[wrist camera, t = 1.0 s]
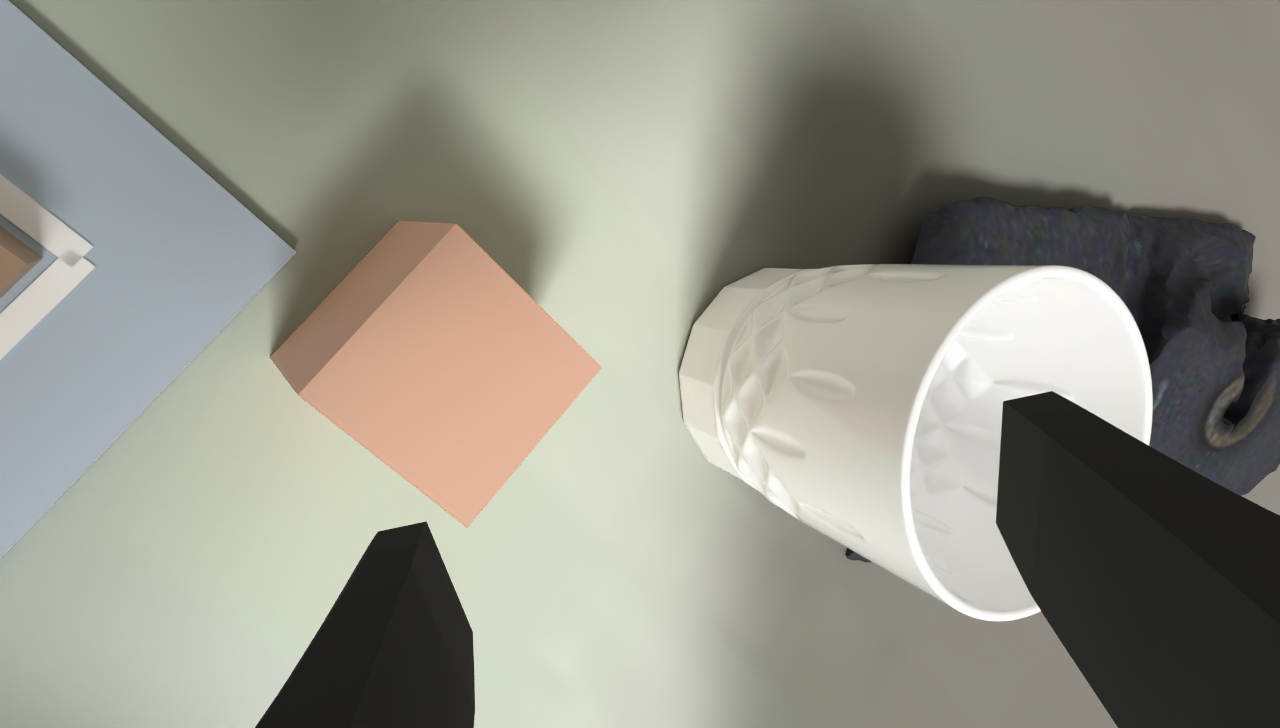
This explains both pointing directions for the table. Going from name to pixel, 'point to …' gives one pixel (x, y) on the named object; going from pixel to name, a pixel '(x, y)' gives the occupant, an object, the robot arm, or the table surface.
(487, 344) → the top block
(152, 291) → the blueprint board
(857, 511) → the white cup
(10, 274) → the base block
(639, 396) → the table surface
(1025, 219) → the dark slate chunk
